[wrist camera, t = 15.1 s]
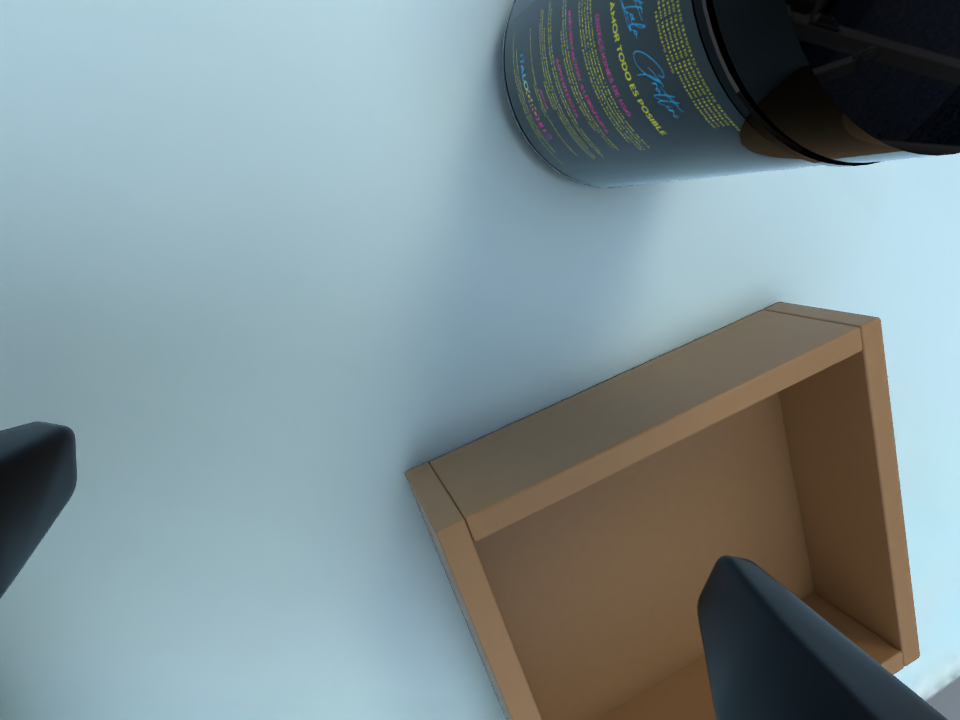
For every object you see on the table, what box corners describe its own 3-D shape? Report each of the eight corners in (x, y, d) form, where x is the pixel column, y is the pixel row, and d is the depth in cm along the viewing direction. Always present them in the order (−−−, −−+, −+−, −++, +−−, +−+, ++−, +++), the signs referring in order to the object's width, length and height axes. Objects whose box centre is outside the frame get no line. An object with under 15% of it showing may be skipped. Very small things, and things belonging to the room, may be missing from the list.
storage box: (529, 775, 23) (578, 882, 19) (404, 471, 19) (435, 532, 15) (829, 595, 26) (921, 657, 22) (779, 300, 22) (881, 316, 18)
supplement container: (595, 237, 19) (922, 252, 9) (442, 65, 17) (672, -154, 7) (731, 79, 19) (1181, -61, 10) (601, -112, 17) (1033, -558, 7)
